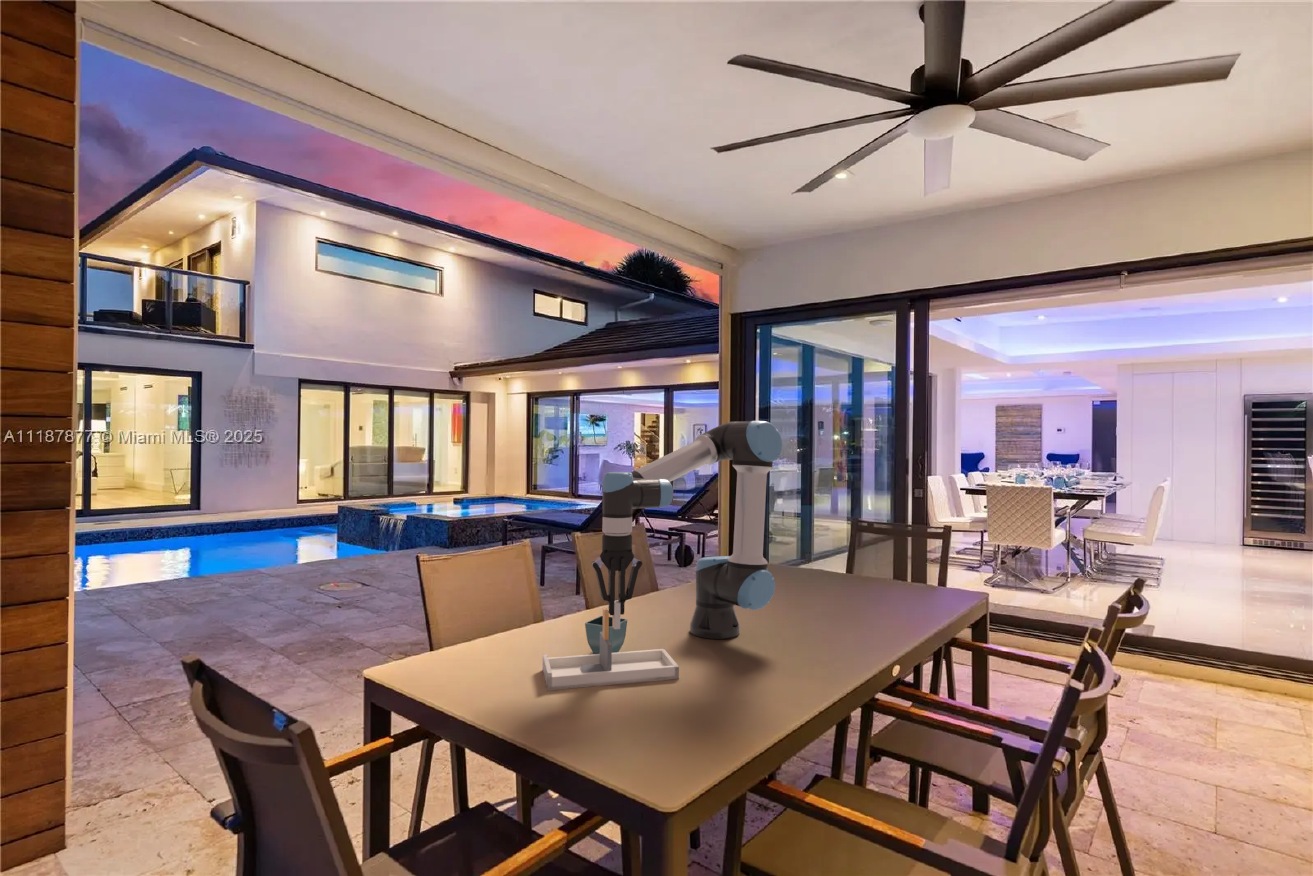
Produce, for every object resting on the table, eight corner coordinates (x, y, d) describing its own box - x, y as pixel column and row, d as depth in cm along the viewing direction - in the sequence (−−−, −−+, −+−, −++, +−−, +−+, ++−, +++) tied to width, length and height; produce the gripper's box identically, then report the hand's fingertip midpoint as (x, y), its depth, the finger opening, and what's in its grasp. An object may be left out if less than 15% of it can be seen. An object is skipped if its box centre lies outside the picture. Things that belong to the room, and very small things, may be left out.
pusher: (603, 662, 167) (603, 604, 167) (611, 678, 156) (611, 615, 156) (580, 664, 165) (580, 605, 165) (586, 680, 154) (587, 617, 155)
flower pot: (583, 655, 176) (584, 622, 176) (601, 646, 183) (601, 615, 183) (611, 660, 172) (611, 627, 172) (627, 651, 179) (628, 619, 179)
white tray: (663, 660, 172) (663, 645, 172) (678, 678, 159) (678, 662, 159) (542, 670, 164) (542, 654, 164) (547, 690, 151) (547, 673, 151)
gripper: (638, 531, 167) (638, 622, 167) (589, 532, 164) (588, 625, 164) (645, 534, 160) (645, 630, 160) (594, 536, 157) (593, 633, 157)
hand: (616, 627), depth 162 cm, fingers closed
